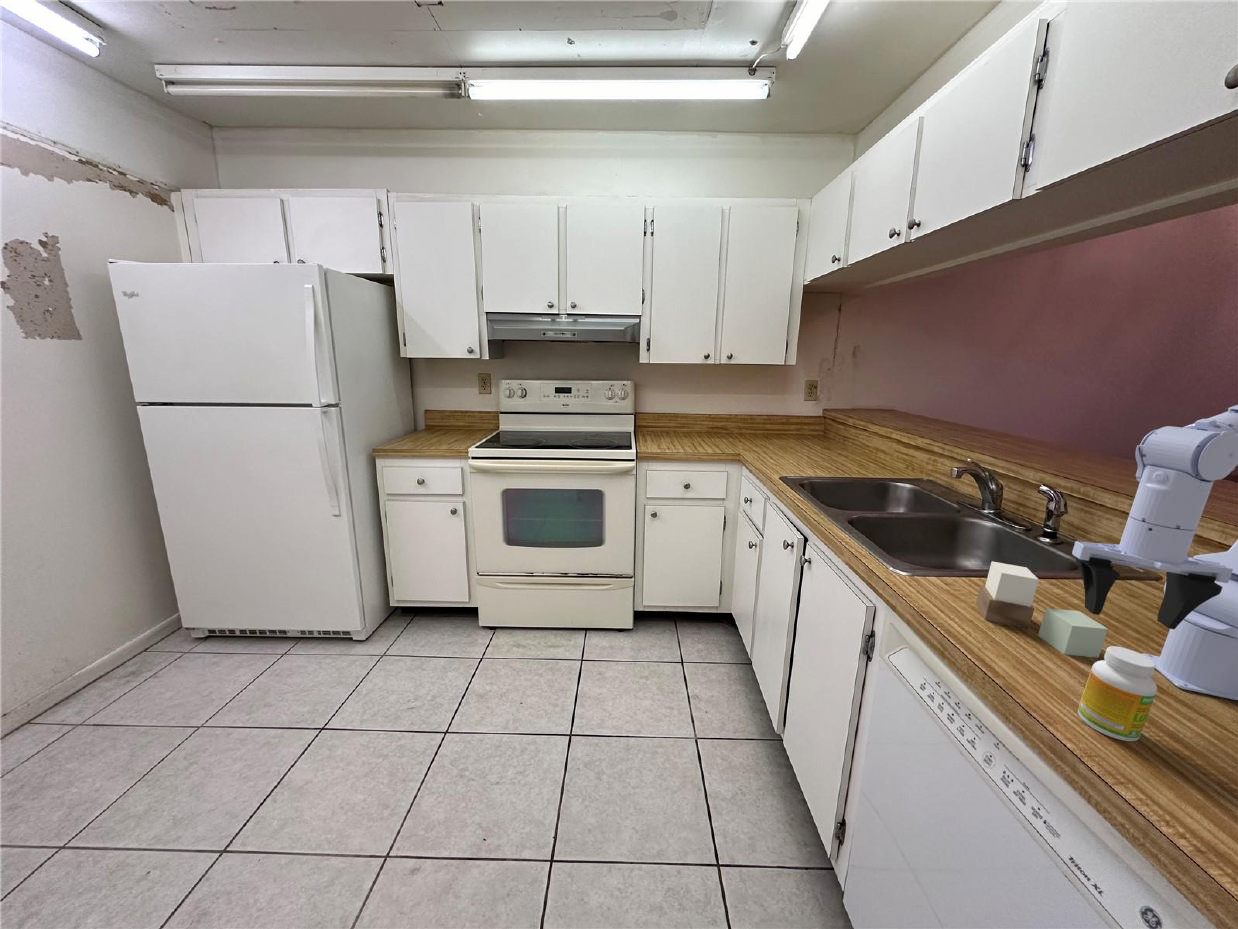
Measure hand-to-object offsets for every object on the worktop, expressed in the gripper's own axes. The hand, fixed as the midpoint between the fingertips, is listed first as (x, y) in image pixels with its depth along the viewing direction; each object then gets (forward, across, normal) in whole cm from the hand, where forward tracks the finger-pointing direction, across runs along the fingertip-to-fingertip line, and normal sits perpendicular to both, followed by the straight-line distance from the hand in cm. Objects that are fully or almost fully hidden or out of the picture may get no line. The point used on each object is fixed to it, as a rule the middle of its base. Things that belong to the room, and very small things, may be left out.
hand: (1128, 618), depth 62 cm
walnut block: (+11, -7, +16) cm, 20 cm away
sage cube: (+10, 0, +10) cm, 14 cm away
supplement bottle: (+11, -4, -10) cm, 15 cm away
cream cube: (+7, -7, +16) cm, 19 cm away
